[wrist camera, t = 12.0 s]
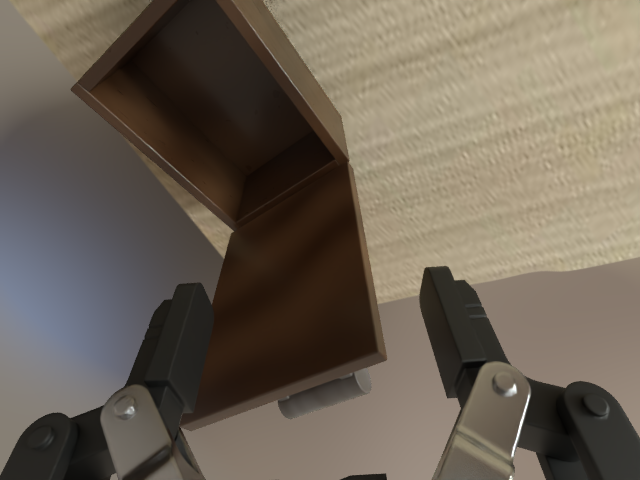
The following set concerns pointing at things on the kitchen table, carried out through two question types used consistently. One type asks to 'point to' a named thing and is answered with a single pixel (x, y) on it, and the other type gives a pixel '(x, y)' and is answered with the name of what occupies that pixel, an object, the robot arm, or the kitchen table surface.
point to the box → (218, 104)
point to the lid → (293, 309)
